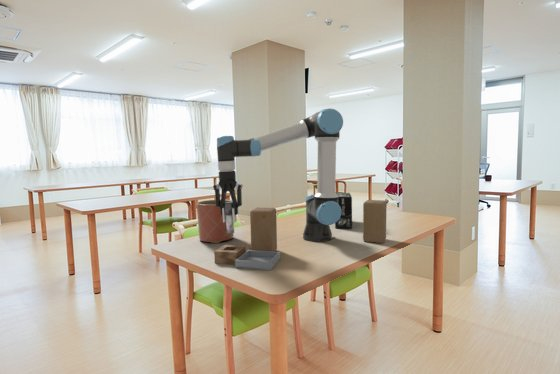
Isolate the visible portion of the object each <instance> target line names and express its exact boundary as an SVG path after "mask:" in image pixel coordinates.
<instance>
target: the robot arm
mask: <svg viewBox="0 0 560 374" xmlns="http://www.w3.org/2000/svg"><path fill="white" fill-rule="evenodd" d="M343 127H344V119H343V115H342V114H341V113H340V112H339V111H338V110H337V109H335V108H324V109H321V110H320V111H317V112H316V113H314V114H312V115H310V116H309V117H308V116H307V117H306V118H304V119H301V120H300V121H299V122H298V123H294V124H291V125H289V126H285V127H282V128H279V129H276V130H273V131H269V132H267V133H265V134H261V135H258V136H255V137H252V138H249V139H238V140H237V139H234V136H232V135H220V136H219V135H218V136H217V139H216V153H217V168H218V180H219V181H218V183H217V184H214V185H213V186H212V188H213V190H214V195H215V200H216V206H217V207H220V209H221V215H223V222H226V214H225V209H224V203H225V200H227V199H226V196H227V192H229V194H230V198H231V200H232V202H233V206H234V207H233V208H232V214H233V223H234V224H235V223H236V222H238V219H237V215H239V207H241V206H242V205H243V200H242V199H243V198H242V189H243V187H244V186H243V184H241V183H238V182H237V176H236V174H237V173H236V171H235V170H236V159H235V158H241V157H244V158H246V157H249V158H250V157H259V156H261V154H262V152H263V151H264V152H265V151H266V150H270V149H273V148H276V147H279V146H281V145H282V146H283V145H284V144H288V143H291V142H294V141H297V140H299V139H309V138H313V137H314V140H315V141H317V174H316V176H317V179H316V183H317V184H316V185H317V186H316V187H317V188H316V190H317V191H316V193H315V194H308V195H306V198H305V221H306V223H305V227H304V230H303V233H302V238H303V239H304V240H306V241H308V242H309V241H310V242H326V241H330V240H332V239H333V232H332V230H331V225H335V223H336V222H337V221H338V220H339V219H340V217H341V207H340V206H339V204H338V195H337V194H336V193H337V192H336V176H337V175H336V173H337V172H336V169H337V168H336V164H337V162H336V161H337V142H338V140H340V132H341V130H342V128H343ZM235 188H236V191H235ZM220 189H221V191H220ZM220 200H221V201H220Z"/></svg>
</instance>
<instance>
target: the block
mask: <svg viewBox="0 0 560 374" xmlns="http://www.w3.org/2000/svg"><path fill="white" fill-rule="evenodd" d="M362 207H363V208H362V210H363V211H362V213H363V214H362V217H363V219H362V226H363V227H362V229H363V231H362V240H363V242H365V241H366V242H365V243H373V242H376V244H384V242H385V241H386V238H387V201H386V200H381V199H380V200H379V199H367V200H366V201H364V202H363V205H362Z"/></svg>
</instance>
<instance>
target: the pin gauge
mask: <svg viewBox="0 0 560 374" xmlns="http://www.w3.org/2000/svg"><path fill="white" fill-rule="evenodd" d="M233 207H234V206H233V202H225V203H224V209H225V214H226V229H227V234H233V233H234V234H235V223H233V214H232V208H233Z"/></svg>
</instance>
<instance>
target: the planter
mask: <svg viewBox="0 0 560 374" xmlns="http://www.w3.org/2000/svg"><path fill="white" fill-rule="evenodd" d="M220 201H221V199H220ZM225 202H232V199H231V200H230V199H225ZM196 210H197V211H196V212H197V213H196V214H197V223H198V224H197V225H198V226H197V227H198V237H199V241H201V242H207V243H213V244H220V243H221V242H222V241H223V242H225V241H228V240H231V239H234V236H235V235H234V234H235V232H234V233H233V234H227V229H226V222H223V215H221V209H220V207H217V206H216V199H207V200H206V199H205V200H201V201H198V202H196Z"/></svg>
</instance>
